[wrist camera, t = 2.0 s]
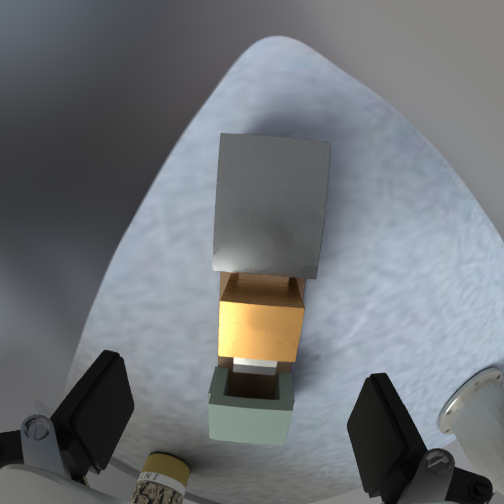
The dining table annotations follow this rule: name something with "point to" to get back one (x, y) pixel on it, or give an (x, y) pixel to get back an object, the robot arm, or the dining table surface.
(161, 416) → the dining table surface
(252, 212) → the sleeve
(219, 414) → the socket
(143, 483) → the brown bark cylinder
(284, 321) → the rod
